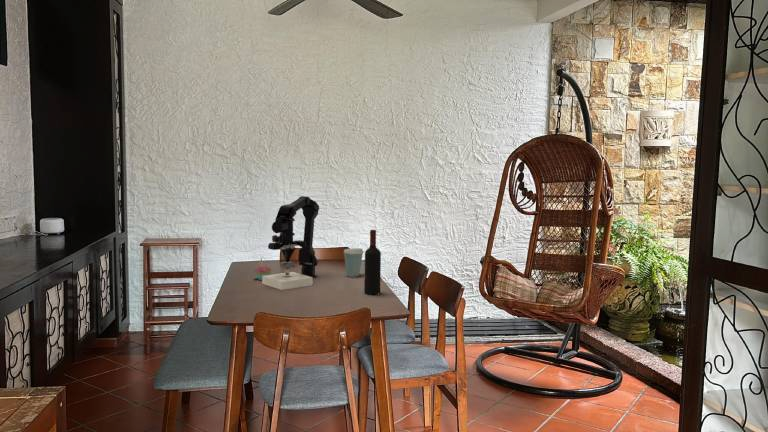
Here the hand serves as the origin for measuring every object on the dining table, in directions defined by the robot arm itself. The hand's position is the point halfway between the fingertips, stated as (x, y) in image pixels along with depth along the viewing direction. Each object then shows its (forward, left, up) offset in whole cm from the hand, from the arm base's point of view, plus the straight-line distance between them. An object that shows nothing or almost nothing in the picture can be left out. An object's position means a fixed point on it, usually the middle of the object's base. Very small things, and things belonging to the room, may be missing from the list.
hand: (287, 262), depth 312 cm
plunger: (0, 0, -6) cm, 6 cm away
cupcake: (+3, -19, -12) cm, 22 cm away
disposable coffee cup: (-40, +2, -12) cm, 42 cm away
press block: (0, 0, -11) cm, 11 cm away
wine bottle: (-21, +41, -12) cm, 47 cm away
